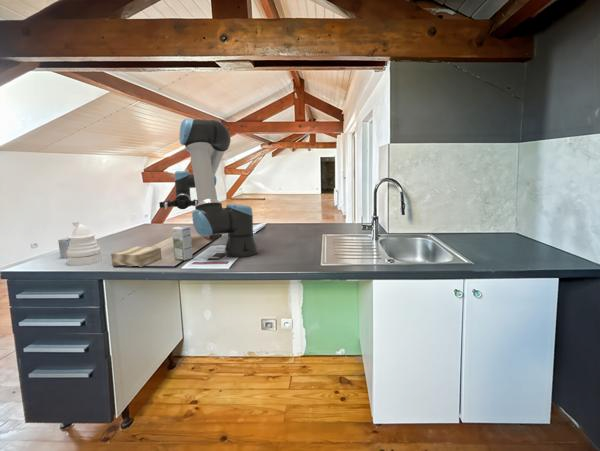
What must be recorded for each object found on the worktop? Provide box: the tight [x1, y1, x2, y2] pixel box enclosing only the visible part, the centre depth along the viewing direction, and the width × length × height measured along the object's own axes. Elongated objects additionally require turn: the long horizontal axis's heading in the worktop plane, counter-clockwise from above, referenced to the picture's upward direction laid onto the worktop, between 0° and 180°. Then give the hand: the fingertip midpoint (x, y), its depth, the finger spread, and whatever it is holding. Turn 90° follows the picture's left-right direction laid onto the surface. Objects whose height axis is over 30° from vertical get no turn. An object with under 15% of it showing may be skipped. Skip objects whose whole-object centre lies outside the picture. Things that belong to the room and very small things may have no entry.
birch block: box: [110, 246, 162, 268], centre depth 156 cm, size 14×14×5 cm
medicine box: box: [57, 237, 70, 259], centre depth 168 cm, size 8×4×9 cm, turn 168°
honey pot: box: [66, 221, 103, 266], centre depth 157 cm, size 13×13×18 cm
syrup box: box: [171, 225, 193, 261], centre depth 159 cm, size 6×6×14 cm
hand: (180, 205), depth 166 cm, fingers open, 13 cm apart
